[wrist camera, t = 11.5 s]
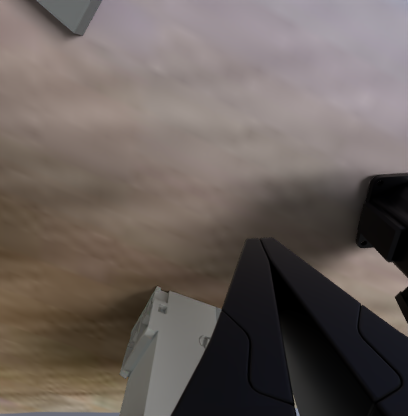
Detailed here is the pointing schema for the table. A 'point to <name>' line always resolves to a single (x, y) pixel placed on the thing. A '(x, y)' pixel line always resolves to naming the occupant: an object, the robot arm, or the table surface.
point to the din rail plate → (72, 12)
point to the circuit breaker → (165, 352)
